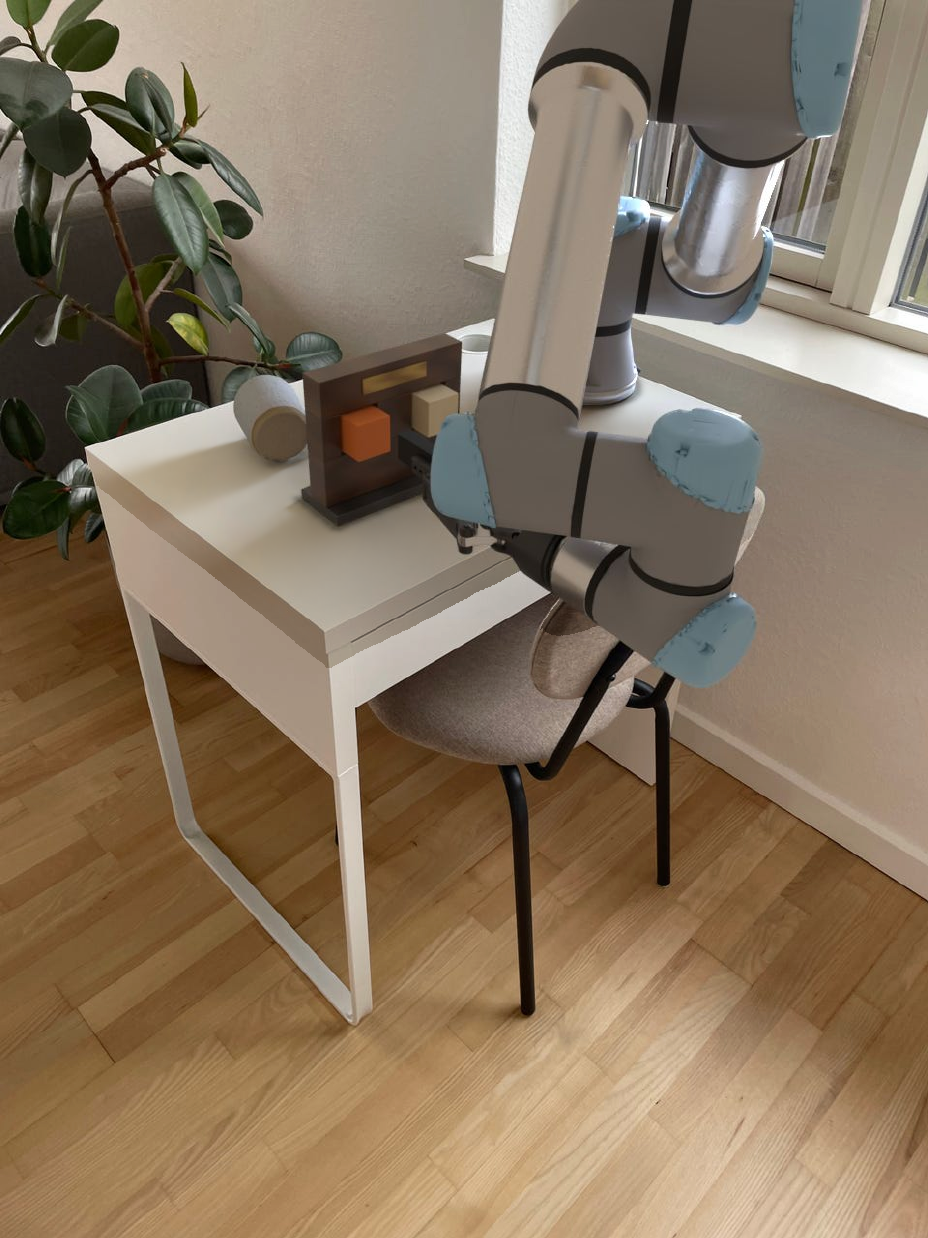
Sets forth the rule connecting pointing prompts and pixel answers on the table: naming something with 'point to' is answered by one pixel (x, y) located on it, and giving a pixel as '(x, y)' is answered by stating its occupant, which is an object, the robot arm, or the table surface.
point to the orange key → (365, 432)
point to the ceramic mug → (271, 417)
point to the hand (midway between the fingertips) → (404, 444)
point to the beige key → (432, 408)
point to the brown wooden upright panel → (386, 385)
